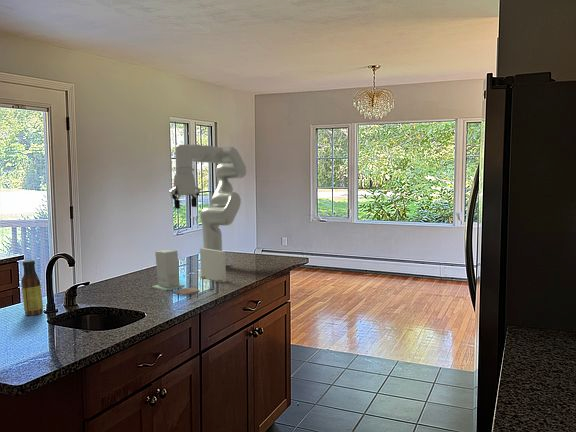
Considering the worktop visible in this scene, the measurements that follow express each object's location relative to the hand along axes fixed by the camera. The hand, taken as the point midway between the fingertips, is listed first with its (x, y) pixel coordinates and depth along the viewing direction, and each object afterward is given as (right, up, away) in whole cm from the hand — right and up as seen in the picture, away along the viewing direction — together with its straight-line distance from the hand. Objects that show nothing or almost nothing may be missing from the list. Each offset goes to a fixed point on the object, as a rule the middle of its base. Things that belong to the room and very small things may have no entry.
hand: (185, 207), depth 249 cm
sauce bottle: (-46, -40, -54) cm, 81 cm away
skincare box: (-5, -35, -16) cm, 39 cm away
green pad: (-5, -35, -16) cm, 39 cm away
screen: (+13, -34, -3) cm, 36 cm away
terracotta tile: (+5, -36, -26) cm, 45 cm away
